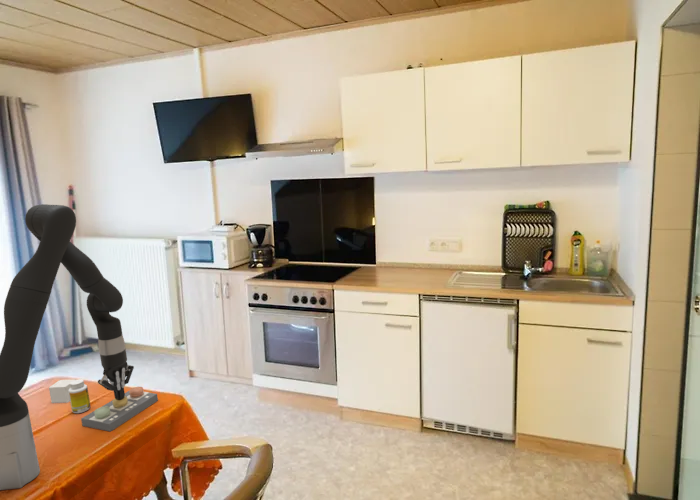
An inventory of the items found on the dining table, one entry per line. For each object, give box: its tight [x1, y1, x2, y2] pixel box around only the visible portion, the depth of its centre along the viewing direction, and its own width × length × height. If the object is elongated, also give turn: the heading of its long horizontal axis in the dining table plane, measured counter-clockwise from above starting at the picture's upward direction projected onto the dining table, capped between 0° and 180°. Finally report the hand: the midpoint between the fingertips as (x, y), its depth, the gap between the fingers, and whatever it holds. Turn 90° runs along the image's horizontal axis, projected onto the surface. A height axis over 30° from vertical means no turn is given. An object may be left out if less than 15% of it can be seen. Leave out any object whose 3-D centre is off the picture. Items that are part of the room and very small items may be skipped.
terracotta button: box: [128, 386, 145, 397], centre depth 162 cm, size 4×4×2 cm
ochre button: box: [111, 396, 128, 407], centre depth 155 cm, size 4×4×2 cm
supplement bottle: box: [69, 378, 91, 414], centre depth 158 cm, size 6×6×10 cm
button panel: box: [80, 390, 159, 433], centre depth 156 cm, size 20×12×3 cm, turn 159°
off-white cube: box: [48, 379, 77, 404], centre depth 168 cm, size 6×6×6 cm
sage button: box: [93, 405, 110, 418], centre depth 149 cm, size 4×4×2 cm
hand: (120, 399), depth 155 cm, fingers closed
